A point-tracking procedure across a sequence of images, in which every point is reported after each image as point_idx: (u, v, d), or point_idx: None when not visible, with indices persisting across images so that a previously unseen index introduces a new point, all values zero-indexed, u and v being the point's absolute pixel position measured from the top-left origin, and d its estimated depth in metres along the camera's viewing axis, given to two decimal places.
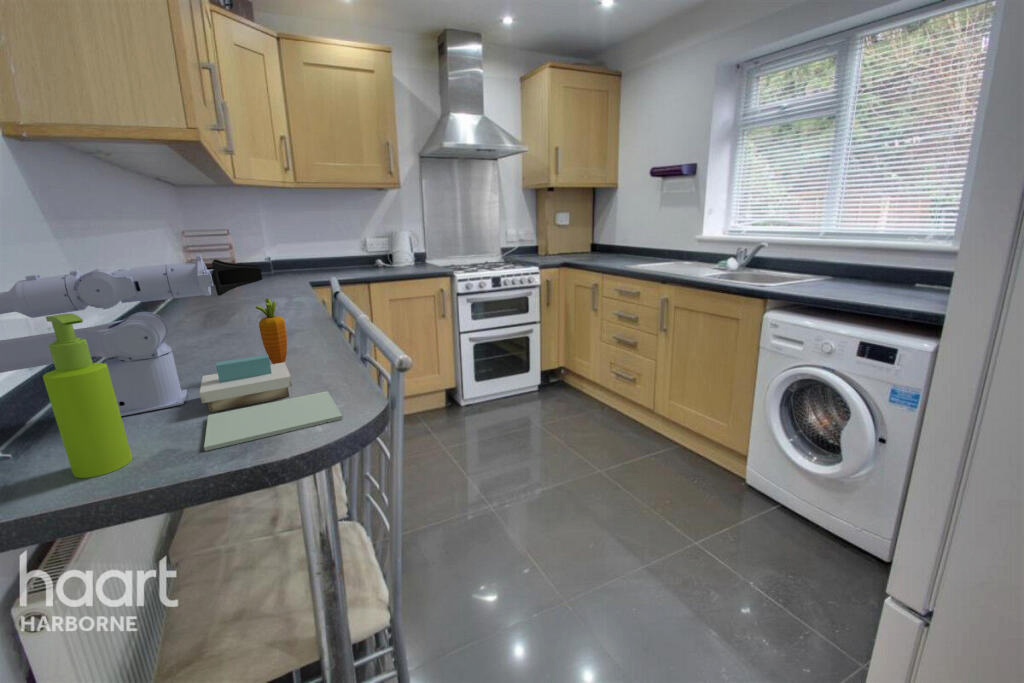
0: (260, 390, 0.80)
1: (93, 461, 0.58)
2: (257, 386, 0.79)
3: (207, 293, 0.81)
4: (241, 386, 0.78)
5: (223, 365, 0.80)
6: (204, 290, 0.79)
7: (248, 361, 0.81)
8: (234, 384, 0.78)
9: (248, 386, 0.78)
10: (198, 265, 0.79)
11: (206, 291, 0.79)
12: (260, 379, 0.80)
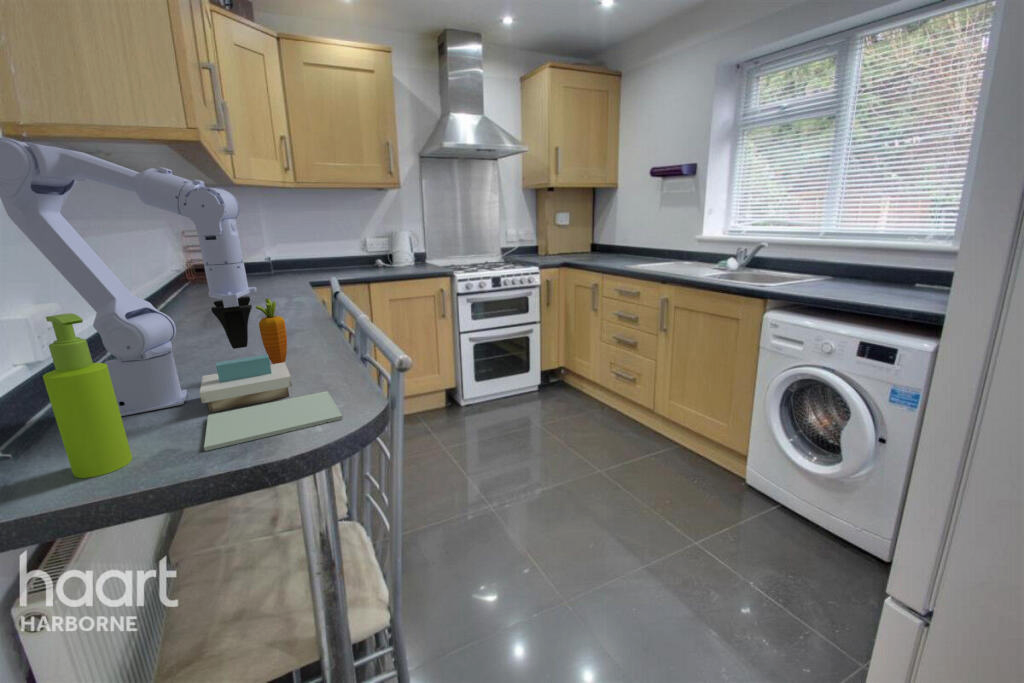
0: (260, 390, 0.80)
1: (93, 461, 0.58)
2: (257, 386, 0.79)
3: (211, 295, 0.76)
4: (241, 386, 0.78)
5: (223, 365, 0.80)
6: (216, 295, 0.75)
7: (248, 361, 0.81)
8: (234, 384, 0.78)
9: (248, 386, 0.78)
10: (245, 291, 0.78)
11: (215, 296, 0.75)
12: (260, 379, 0.80)
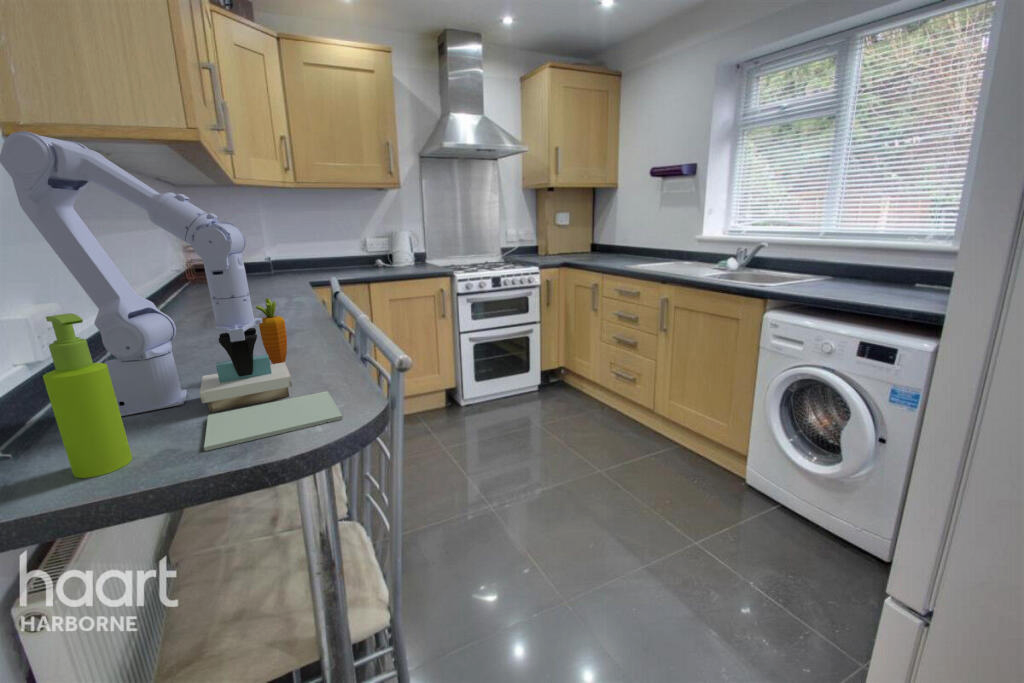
0: (260, 390, 0.80)
1: (93, 461, 0.58)
2: (257, 386, 0.79)
3: (218, 328, 0.77)
4: (241, 386, 0.78)
5: (223, 365, 0.80)
6: (223, 329, 0.76)
7: None
8: (234, 384, 0.78)
9: (248, 386, 0.78)
10: (251, 323, 0.79)
11: (221, 329, 0.77)
12: (260, 379, 0.80)
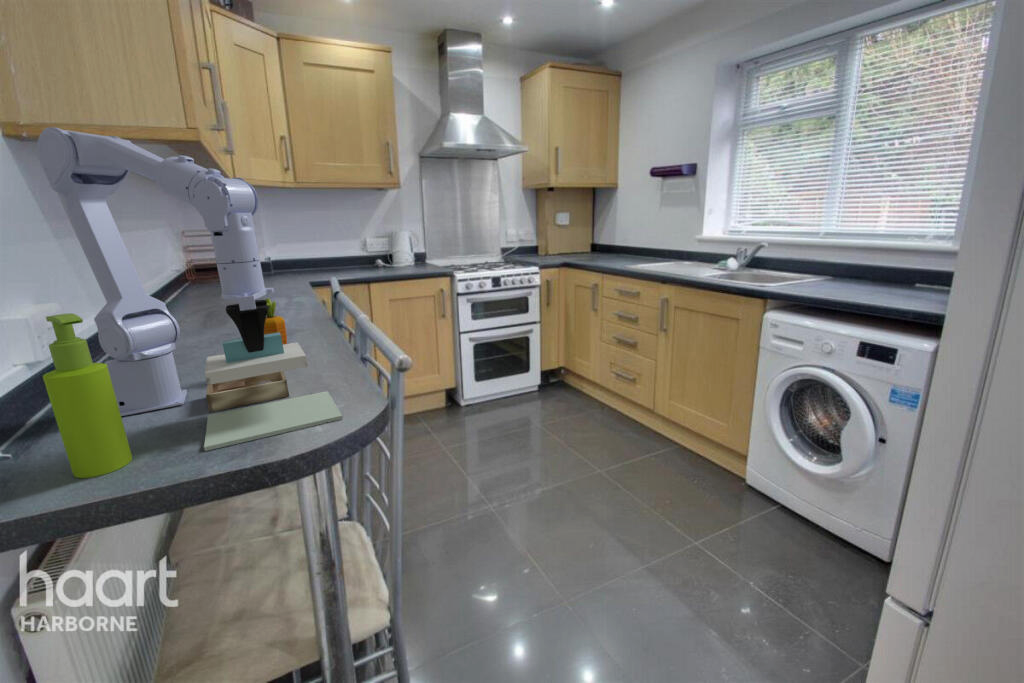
0: (272, 370, 0.71)
1: (93, 461, 0.58)
2: (269, 366, 0.71)
3: (225, 297, 0.69)
4: (251, 366, 0.69)
5: (230, 343, 0.71)
6: (231, 297, 0.67)
7: None
8: (243, 364, 0.70)
9: (259, 366, 0.70)
10: (262, 292, 0.71)
11: (229, 298, 0.68)
12: (272, 359, 0.72)
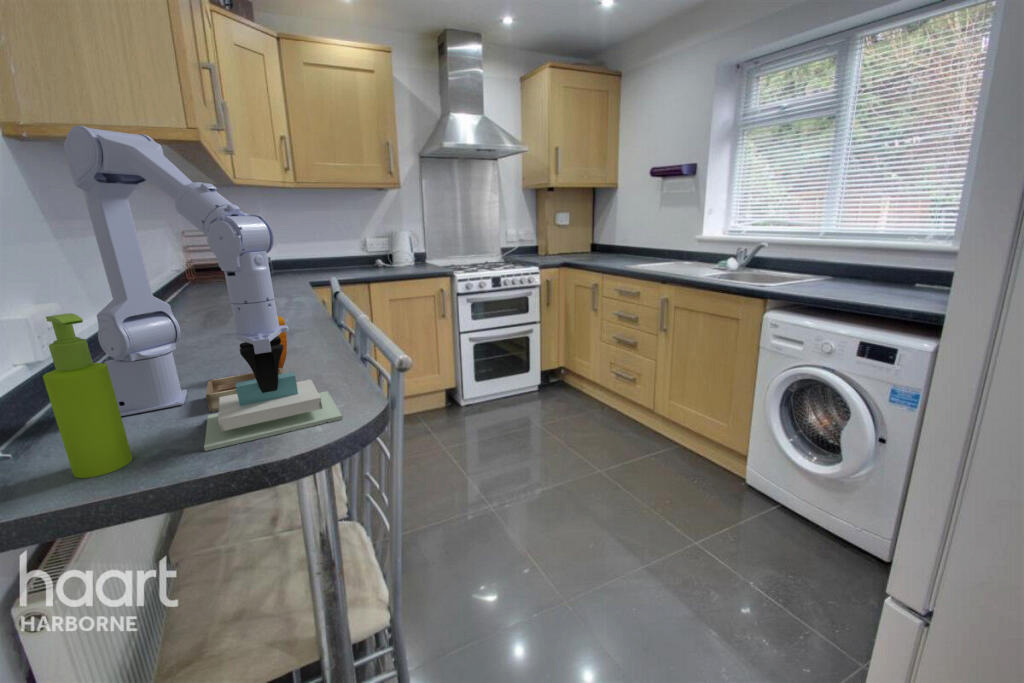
0: (286, 414, 0.69)
1: (93, 461, 0.58)
2: (283, 410, 0.69)
3: (239, 338, 0.67)
4: (265, 410, 0.68)
5: (244, 386, 0.69)
6: (245, 339, 0.66)
7: None
8: (257, 408, 0.68)
9: (273, 410, 0.68)
10: (277, 331, 0.69)
11: (243, 339, 0.66)
12: (287, 401, 0.70)
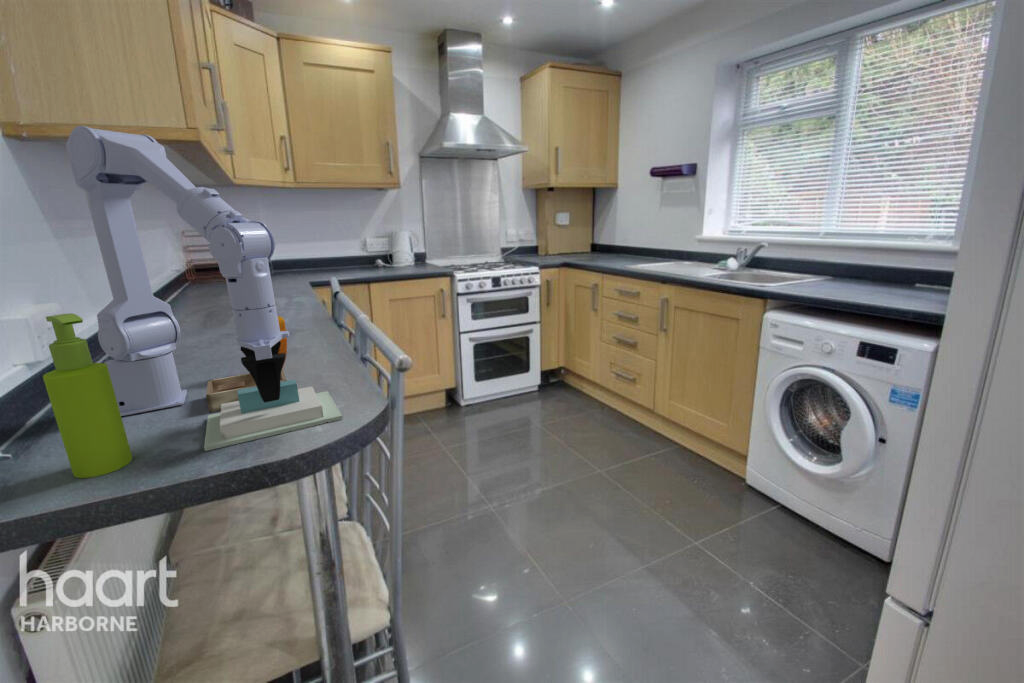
0: (288, 422, 0.69)
1: (93, 461, 0.58)
2: (285, 418, 0.69)
3: (240, 344, 0.67)
4: (267, 418, 0.68)
5: (245, 393, 0.69)
6: (246, 345, 0.66)
7: None
8: (259, 416, 0.68)
9: (275, 418, 0.68)
10: (278, 337, 0.69)
11: (244, 345, 0.66)
12: (288, 409, 0.70)
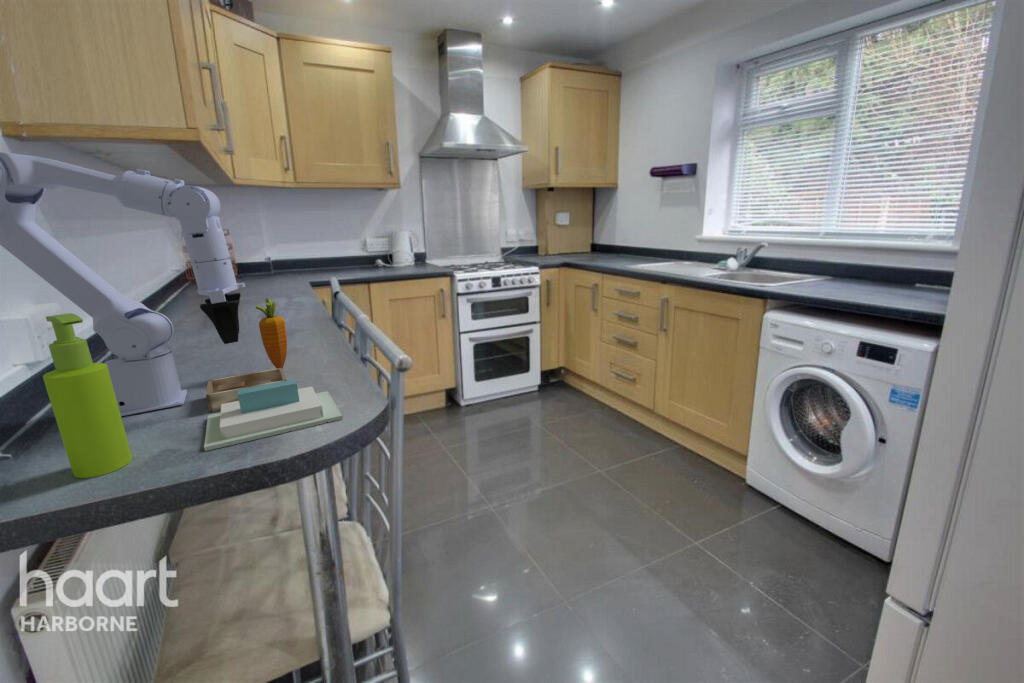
0: (288, 422, 0.69)
1: (93, 461, 0.58)
2: (285, 418, 0.69)
3: (200, 293, 0.77)
4: (267, 418, 0.68)
5: (245, 393, 0.69)
6: (204, 292, 0.76)
7: (273, 388, 0.71)
8: (259, 416, 0.68)
9: (275, 418, 0.68)
10: (233, 286, 0.79)
11: (203, 293, 0.76)
12: (288, 409, 0.70)
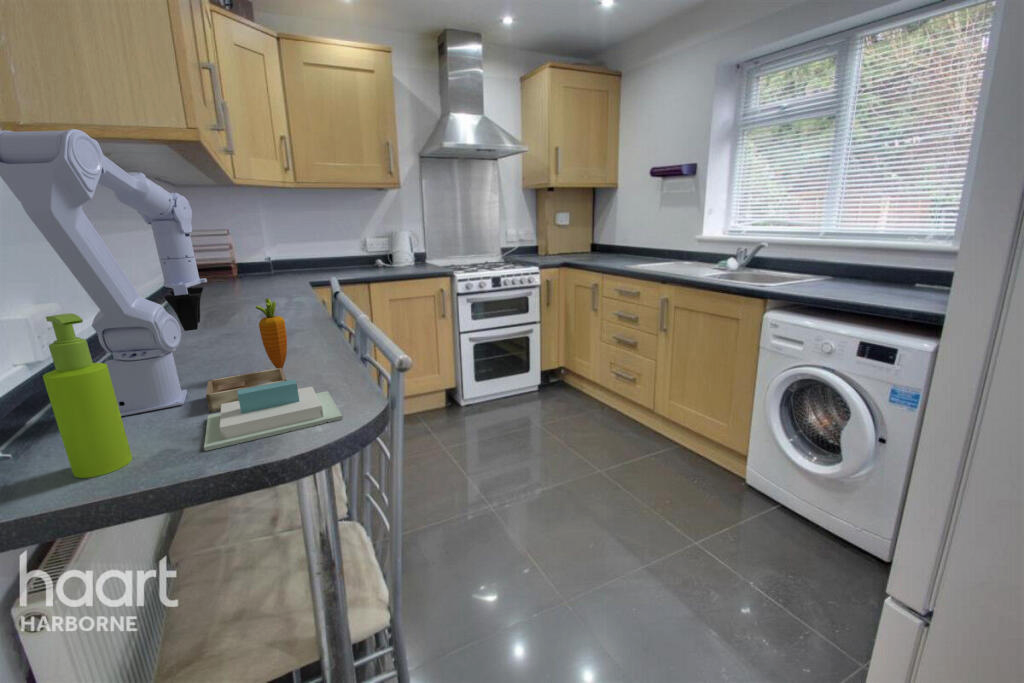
0: (288, 422, 0.69)
1: (93, 461, 0.58)
2: (285, 418, 0.69)
3: (166, 285, 0.89)
4: (267, 418, 0.68)
5: (245, 393, 0.69)
6: (169, 285, 0.88)
7: (273, 388, 0.71)
8: (259, 416, 0.68)
9: (275, 418, 0.68)
10: (195, 281, 0.91)
11: (168, 286, 0.88)
12: (288, 409, 0.70)
